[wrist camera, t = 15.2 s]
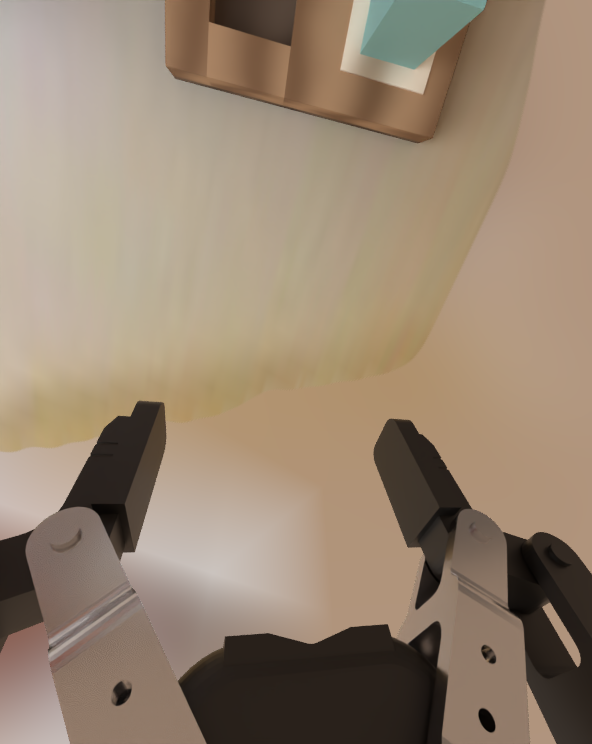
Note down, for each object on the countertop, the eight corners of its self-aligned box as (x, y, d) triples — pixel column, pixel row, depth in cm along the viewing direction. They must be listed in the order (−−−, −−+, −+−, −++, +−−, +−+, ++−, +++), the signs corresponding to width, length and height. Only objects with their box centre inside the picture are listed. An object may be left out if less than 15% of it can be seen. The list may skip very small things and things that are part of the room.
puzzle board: (175, 78, 26) (164, 64, 23) (176, -163, 20) (162, -220, 17) (417, 143, 29) (433, 137, 27) (476, -47, 24) (503, -79, 21)
